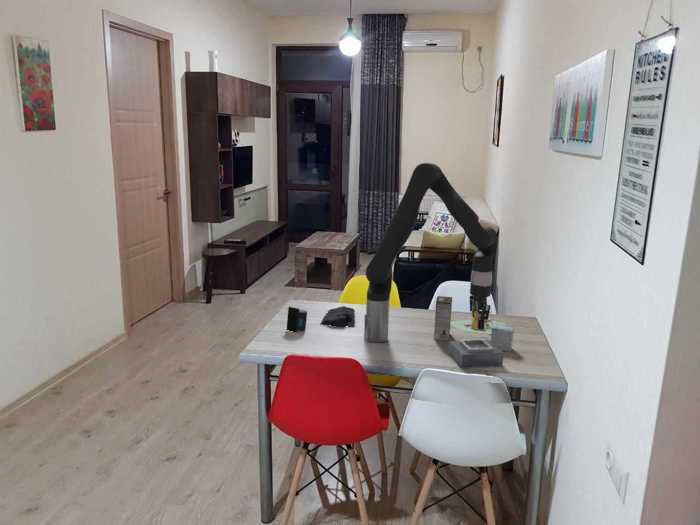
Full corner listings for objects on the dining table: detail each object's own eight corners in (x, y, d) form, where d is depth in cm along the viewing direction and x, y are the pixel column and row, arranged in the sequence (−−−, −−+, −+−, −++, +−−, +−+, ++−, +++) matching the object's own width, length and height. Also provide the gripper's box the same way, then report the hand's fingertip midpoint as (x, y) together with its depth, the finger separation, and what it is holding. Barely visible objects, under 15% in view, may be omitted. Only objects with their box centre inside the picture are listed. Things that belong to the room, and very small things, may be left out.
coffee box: (434, 331, 238) (436, 295, 235) (449, 333, 237) (452, 296, 234) (433, 339, 230) (435, 301, 226) (449, 340, 228) (451, 303, 225)
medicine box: (512, 348, 222) (514, 327, 220) (510, 352, 218) (512, 331, 216) (492, 344, 225) (493, 324, 223) (489, 348, 221) (491, 327, 219)
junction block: (461, 367, 202) (462, 351, 201) (448, 353, 214) (449, 338, 213) (502, 365, 205) (503, 349, 204) (487, 352, 217) (488, 336, 216)
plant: (450, 334, 238) (452, 313, 236) (446, 318, 258) (448, 299, 256) (510, 337, 236) (512, 317, 234) (501, 321, 256) (503, 302, 254)
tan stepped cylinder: (474, 331, 204) (475, 314, 203) (469, 326, 209) (470, 310, 207) (486, 330, 205) (487, 313, 204) (481, 326, 210) (482, 309, 208)
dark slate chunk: (359, 313, 261) (359, 303, 260) (353, 329, 240) (354, 318, 239) (326, 311, 263) (327, 301, 262) (318, 327, 242) (319, 316, 241)
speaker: (293, 334, 230) (295, 309, 229) (286, 330, 235) (287, 306, 233) (308, 332, 235) (310, 308, 234) (300, 329, 240) (302, 305, 238)
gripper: (463, 277, 209) (460, 320, 213) (479, 287, 195) (475, 333, 199) (482, 277, 210) (479, 320, 214) (499, 287, 197) (495, 333, 201)
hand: (477, 326), depth 207 cm, fingers closed on tan stepped cylinder, 4 cm apart
